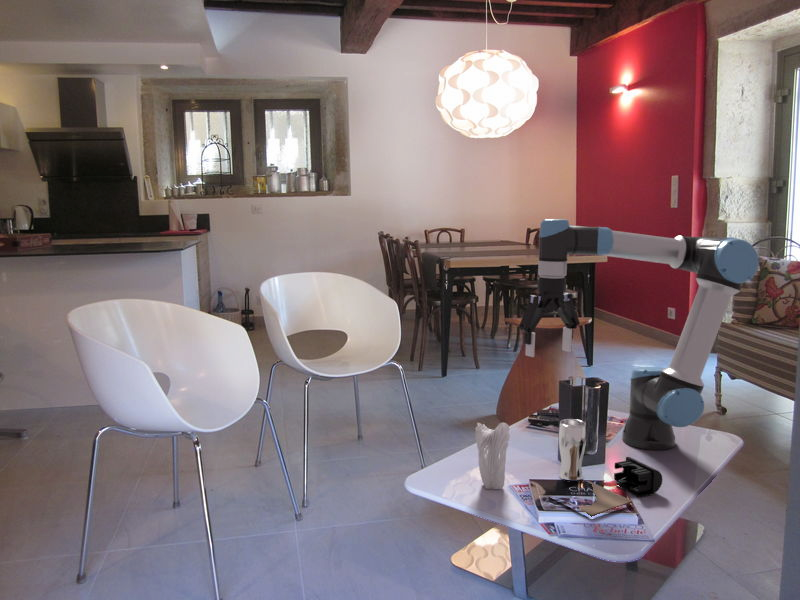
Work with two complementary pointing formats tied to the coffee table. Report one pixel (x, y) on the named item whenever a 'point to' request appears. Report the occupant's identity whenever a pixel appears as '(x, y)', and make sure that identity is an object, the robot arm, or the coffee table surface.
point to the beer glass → (572, 448)
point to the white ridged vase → (492, 454)
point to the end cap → (637, 478)
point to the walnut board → (604, 501)
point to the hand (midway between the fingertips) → (548, 353)
